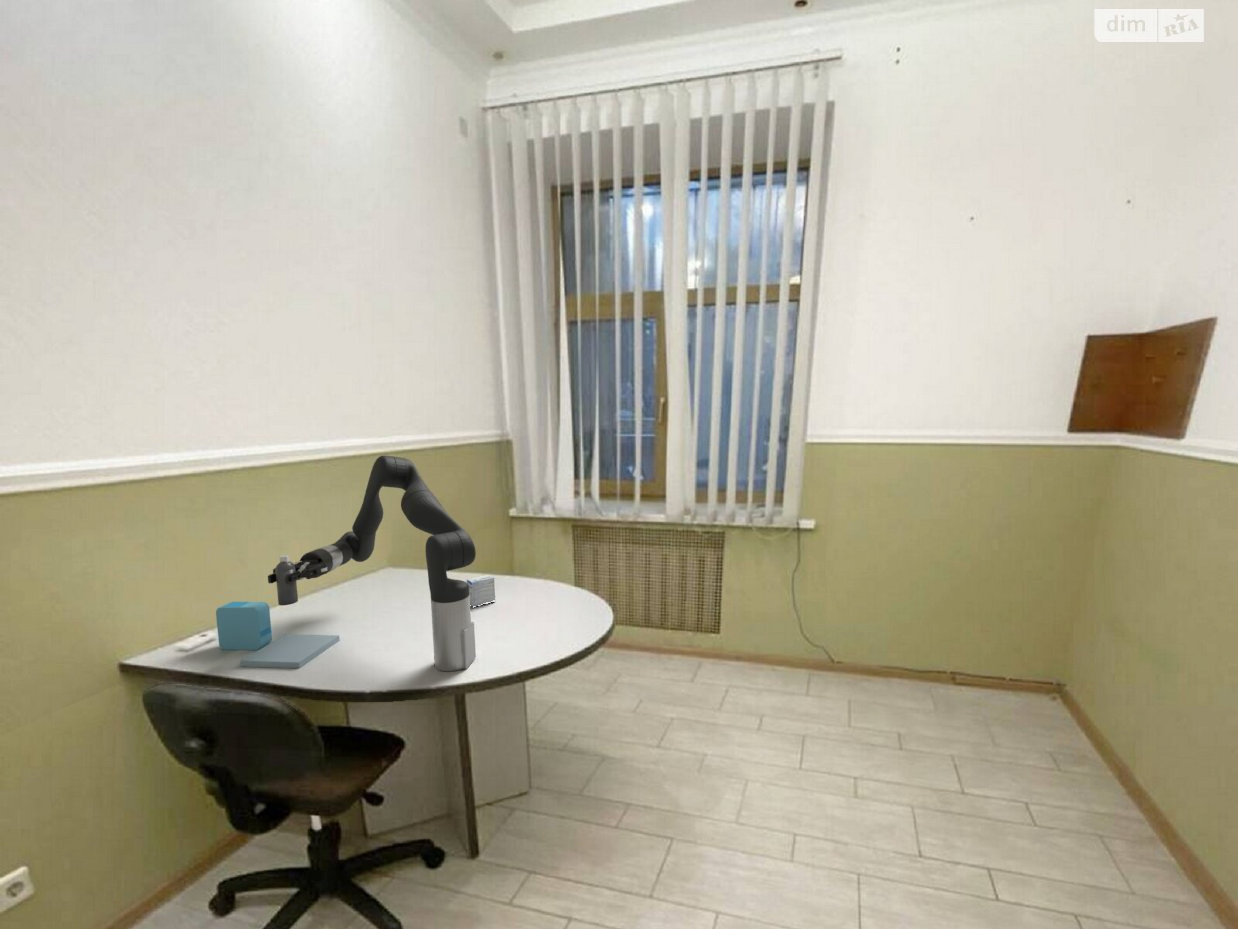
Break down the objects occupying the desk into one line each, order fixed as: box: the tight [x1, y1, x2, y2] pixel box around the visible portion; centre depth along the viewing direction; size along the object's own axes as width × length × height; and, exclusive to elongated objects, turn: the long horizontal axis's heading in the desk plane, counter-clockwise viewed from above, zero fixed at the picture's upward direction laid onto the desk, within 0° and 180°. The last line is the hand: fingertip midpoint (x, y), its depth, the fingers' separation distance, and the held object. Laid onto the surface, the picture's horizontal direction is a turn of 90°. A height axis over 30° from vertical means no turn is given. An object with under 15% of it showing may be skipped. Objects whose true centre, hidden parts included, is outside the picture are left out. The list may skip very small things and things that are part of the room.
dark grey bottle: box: [275, 555, 299, 606], centre depth 139 cm, size 4×4×12 cm
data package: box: [215, 601, 273, 651], centre depth 145 cm, size 12×4×12 cm, turn 86°
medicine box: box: [466, 574, 496, 607], centre depth 174 cm, size 8×4×9 cm, turn 130°
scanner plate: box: [239, 633, 340, 669], centre depth 141 cm, size 16×16×2 cm
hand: (278, 579), depth 136 cm, fingers closed on dark grey bottle, 4 cm apart
